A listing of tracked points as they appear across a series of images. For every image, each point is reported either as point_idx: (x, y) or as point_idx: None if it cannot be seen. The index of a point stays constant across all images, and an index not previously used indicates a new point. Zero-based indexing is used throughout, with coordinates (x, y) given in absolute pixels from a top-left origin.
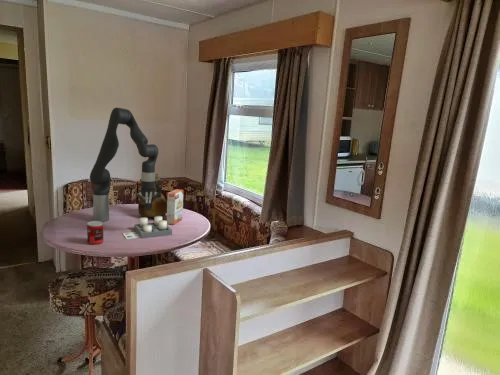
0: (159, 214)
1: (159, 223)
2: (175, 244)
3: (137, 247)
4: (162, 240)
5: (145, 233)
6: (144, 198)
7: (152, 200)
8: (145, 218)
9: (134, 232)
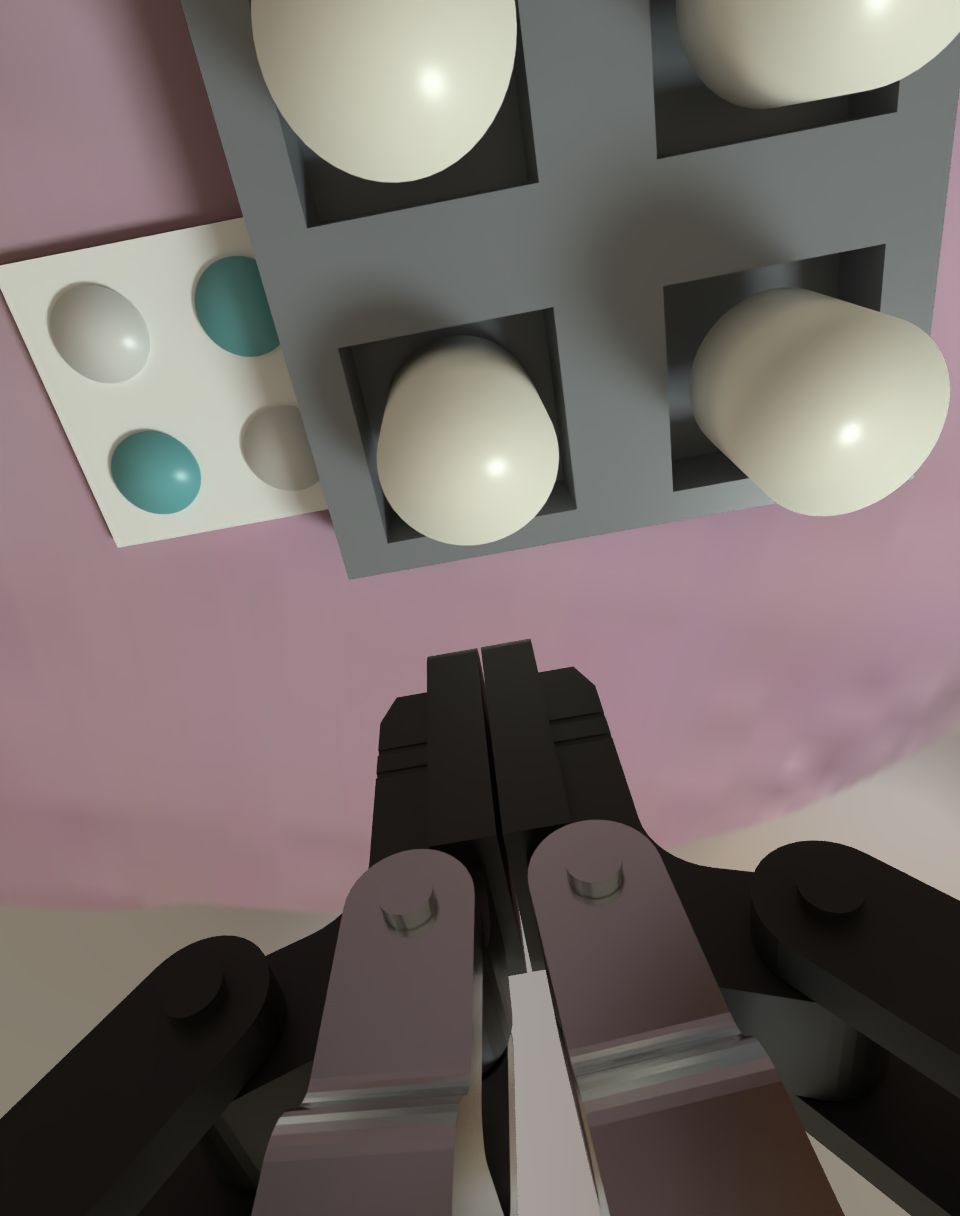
0: None
1: (739, 459)
2: (764, 793)
3: (311, 821)
4: (648, 657)
5: (417, 563)
6: (304, 1134)
7: (800, 1094)
8: (443, 48)
9: (215, 245)
